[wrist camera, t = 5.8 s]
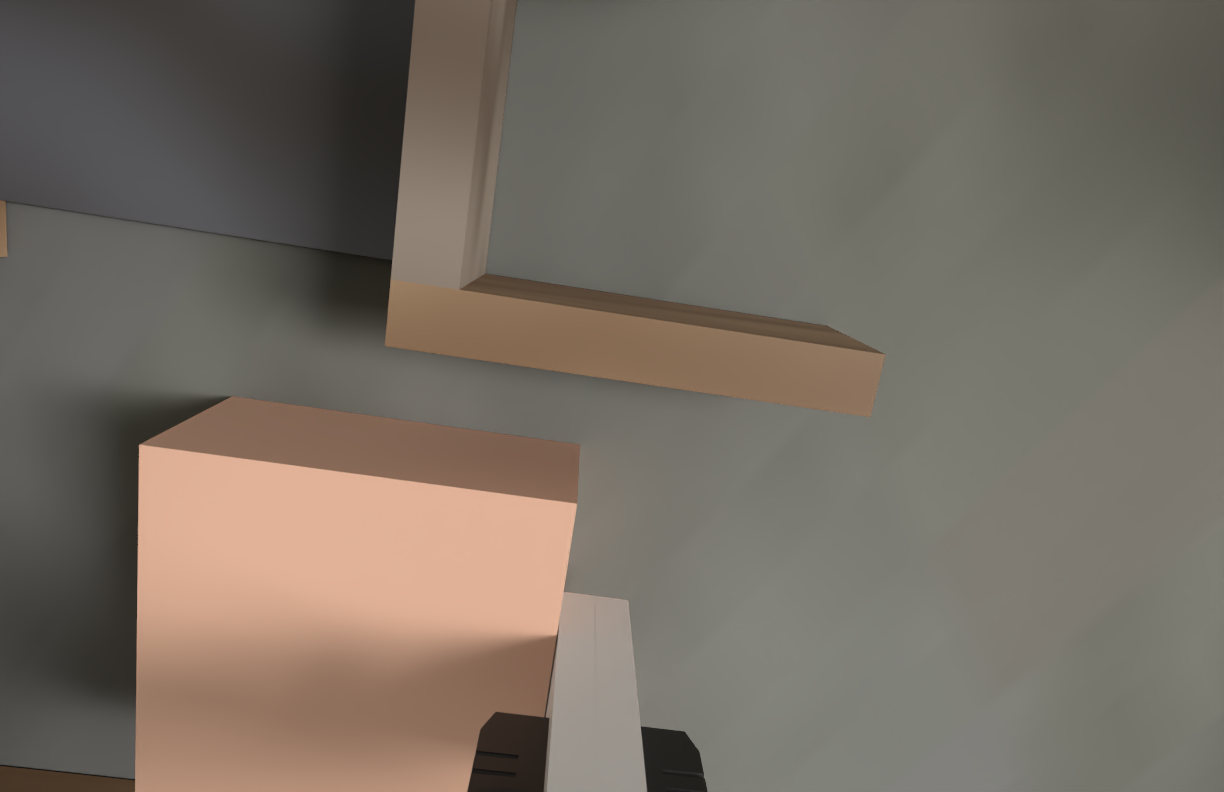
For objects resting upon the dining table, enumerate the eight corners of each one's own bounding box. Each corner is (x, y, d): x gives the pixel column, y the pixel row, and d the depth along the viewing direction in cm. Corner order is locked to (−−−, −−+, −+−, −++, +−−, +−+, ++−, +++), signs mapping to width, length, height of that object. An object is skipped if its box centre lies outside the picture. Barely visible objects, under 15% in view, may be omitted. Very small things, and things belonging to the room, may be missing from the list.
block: (238, 393, 18) (139, 444, 14) (580, 440, 18) (577, 503, 14) (225, 694, 20) (134, 814, 16) (536, 730, 20) (523, 855, 16)
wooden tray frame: (-735, -449, 13) (-1186, -674, 10) (928, -126, 15) (1025, -222, 12) (-488, 754, 19) (-723, 872, 16) (704, 878, 21) (726, 1008, 18)
